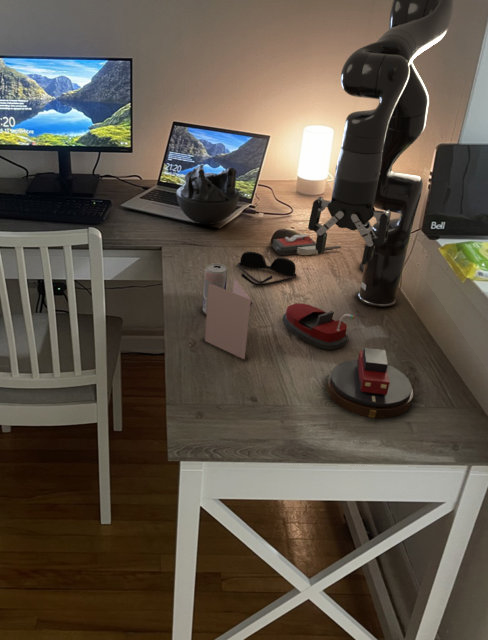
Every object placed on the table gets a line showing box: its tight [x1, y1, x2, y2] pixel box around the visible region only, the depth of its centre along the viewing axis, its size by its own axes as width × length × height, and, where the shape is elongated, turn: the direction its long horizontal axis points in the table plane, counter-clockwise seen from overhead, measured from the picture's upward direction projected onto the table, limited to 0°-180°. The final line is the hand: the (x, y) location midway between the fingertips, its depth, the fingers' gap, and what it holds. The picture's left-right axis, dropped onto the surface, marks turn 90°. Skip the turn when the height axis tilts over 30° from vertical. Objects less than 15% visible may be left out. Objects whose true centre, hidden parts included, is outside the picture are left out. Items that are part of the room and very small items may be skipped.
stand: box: [326, 370, 414, 419], centre depth 141 cm, size 17×17×2 cm
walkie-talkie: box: [272, 233, 342, 256], centre depth 203 cm, size 9×4×20 cm
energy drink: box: [202, 263, 228, 315], centre depth 167 cm, size 5×5×12 cm
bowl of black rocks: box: [176, 164, 240, 225], centre depth 217 cm, size 20×20×19 cm
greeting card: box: [204, 276, 253, 360], centre depth 152 cm, size 11×7×15 cm, turn 12°
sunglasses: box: [237, 251, 298, 287], centre depth 185 cm, size 17×14×5 cm
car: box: [331, 347, 413, 407], centre depth 138 cm, size 16×16×6 cm
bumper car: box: [282, 302, 356, 351], centre depth 159 cm, size 10×20×10 cm, turn 32°
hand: (342, 257), depth 129 cm, fingers open, 8 cm apart
